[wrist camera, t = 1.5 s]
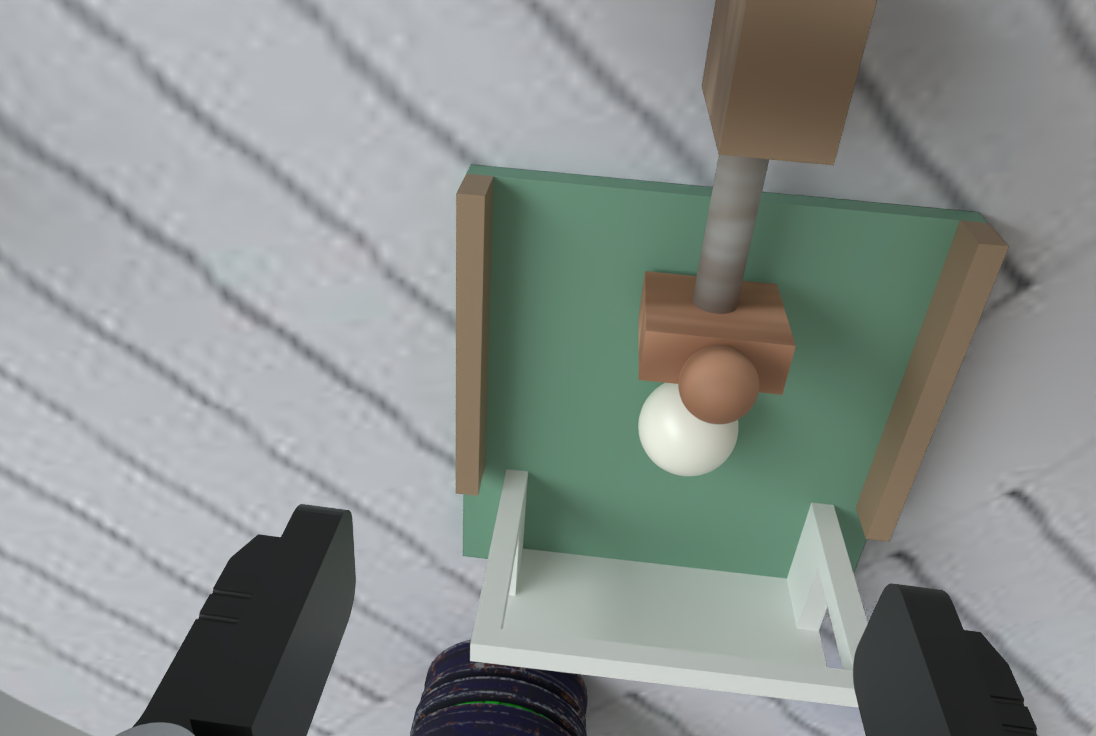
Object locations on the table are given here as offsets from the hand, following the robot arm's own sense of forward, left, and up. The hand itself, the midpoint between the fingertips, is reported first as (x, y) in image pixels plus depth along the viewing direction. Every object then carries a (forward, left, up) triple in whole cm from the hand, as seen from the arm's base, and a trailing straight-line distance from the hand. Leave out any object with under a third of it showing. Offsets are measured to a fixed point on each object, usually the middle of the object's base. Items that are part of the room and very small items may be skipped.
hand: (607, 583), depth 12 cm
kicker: (0, +4, -20) cm, 20 cm away
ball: (+10, +4, -18) cm, 21 cm away
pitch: (+11, +4, -21) cm, 25 cm away
